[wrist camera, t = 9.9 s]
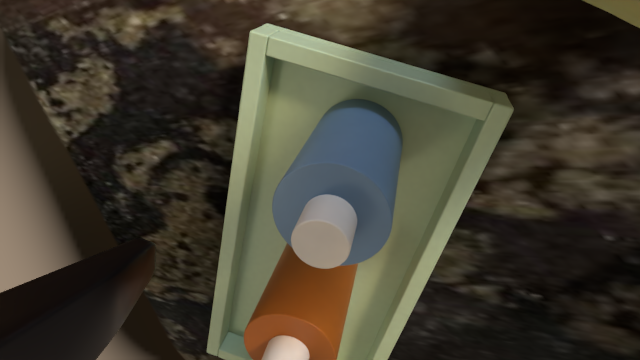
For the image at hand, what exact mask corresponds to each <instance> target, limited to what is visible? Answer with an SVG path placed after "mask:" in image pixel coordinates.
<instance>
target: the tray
mask: <svg viewBox="0 0 640 360" xmlns="http://www.w3.org/2000/svg"><path fill="white" fill-rule="evenodd" d="M351 99H365V100H369V101H372V102H375V103H377V104H379V105H381V106H383V107H384V108H386V109H387V110H388V111H389V112H390V113H391V114H392V115H393V116H394V117H395V119H396V120H397V122H398V124H399V126H400V129H401V132H402V138H403V145H402V153H401V161H400V168H399V176H398V184H397V191H396V199H395V207H394V215H393V222H392V229H391V233H390V236H389V238H388V240H387V242H386V243H385V245H384V246H383V248H382V249H381V250H380V251H379V252H378V253H376V254H375V255H374V256H372V257H371V258H369V259H367V260H365V261H363V262H360V263H358V267H357V271H356V276H355V280H354V285H353V289H352V294H351V298H350V303H349V307H348V312H347V316H346V321H345V325H344V330H343V334H342V339H341V343H340V348H339V352H338V357H337V360H388V358H389V356H390V354H391V352H392V350H393V348H394V346H395V344H396V342H397V340H398V338H399V336H400V334H401V332H402V330H403V328H404V326H405V324H406V322H407V320H408V318H409V316H410V314H411V312H412V310H413V308H414V306H415V304H416V302H417V300H418V298H419V296H420V294H421V292H422V290H423V289H424V287H425V285H426V283H427V281H428V279H429V277H430V275H431V273H432V271H433V269H434V267H435V265H436V263H437V261H438V259H439V257H440V255H441V253H442V251H443V249H444V247H445V245H446V243H447V241H448V239H449V237H450V235H451V233H452V231H453V229H454V227H455V225H456V223H457V221H458V219H459V217H460V216H461V214H462V212H463V210H464V208H465V206H466V204H467V202H468V200H469V198H470V196H471V194H472V192H473V190H474V188H475V186H476V184H477V182H478V180H479V178H480V176H481V174H482V172H483V170H484V168H485V166H486V164H487V162H488V160H489V158H490V156H491V154H492V152H493V150H494V148H495V146H496V144H497V143H498V141H499V139H500V137H501V135H502V133H503V131H504V129H505V127H506V125H507V123H508V121H509V119H510V117H511V115H512V113H513V111H514V108H513V106H512V104H511V103H510V101H509V99H508V97H507V95H506V93H504V92H500V91H497V90H494V89H490V88H487V87H483V86H480V85H476V84H473V83H470V82H466V81H463V80H459V79H456V78H453V77H449V76H446V75H442V74H439V73H435V72H432V71H429V70H425V69H422V68H418V67H415V66H412V65H408V64H405V63H401V62H398V61H395V60H391V59H388V58H384V57H381V56H377V55H374V54H371V53H367V52H364V51H360V50H357V49H354V48H350V47H347V46H343V45H340V44H336V43H333V42H330V41H326V40H323V39H319V38H316V37H313V36H309V35H306V34H302V33H299V32H295V31H292V30H289V29H285V28H282V27H278V26H275V25H272V24H268V23H267V24H264V25H263V26H261V27H258V28H256V29H254V30H251V31H250V34H249V41H248V49H247V56H246V63H245V71H244V78H243V86H242V93H241V100H240V108H239V115H238V123H237V130H236V137H235V145H234V152H233V160H232V167H231V174H230V182H229V189H228V197H227V204H226V212H225V219H224V226H223V234H222V241H221V249H220V256H219V263H218V271H217V278H216V286H215V293H214V300H213V308H212V315H211V323H210V330H209V337H208V345H207V353H209V354H212V355H215V356H218V357H220V358H222V359H225V360H253V359H252V358H251V357H250V355H249V354H248V352H247V350H246V348H245V344H244V332H245V329H246V327H247V324H248V322H249V320H250V318H251V316H252V314H253V312H254V310H255V308H256V306H257V304H258V302H259V300H260V298H261V296H262V294H263V292H264V290H265V288H266V285H267V283H268V281H269V279H270V277H271V275H272V273H273V271H274V269H275V267H276V265H277V263H278V261H279V259H280V257H281V255H282V253H283V251H284V249H285V246H286V244H287V242H286V241H285V240H284V238H283V237H282V236H281V234H280V232H279V231H278V229H277V227H276V225H275V221H274V218H273V213H272V201H273V196H274V192H275V190H276V188H277V186H278V184H279V183H280V181H281V180H282V178H283V177H284V175H285V173H286V172H287V170H288V169H289V167H290V166H291V164H292V163H293V161H294V160H295V158H296V157H297V155H298V153H299V152H300V150H301V149H302V147H303V146H304V144H305V143H306V141H307V140H308V138H309V137H310V135H311V133H312V132H313V130H314V129H315V127H316V126H317V124H318V123H319V121H320V120H321V118H322V117H323V115H324V114H325V113H326V112H327V111H328V110H329V109H330V108H331V107H333V106H334V105H336V104H338V103H340V102H342V101H346V100H351Z"/></svg>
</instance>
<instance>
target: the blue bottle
mask: <svg viewBox="0 0 640 360" xmlns="http://www.w3.org/2000/svg"><path fill="white" fill-rule="evenodd" d="M402 145H403V138H402V132H401V129H400V126H399V124H398V122H397V120H396V119H395V117H394V116H393V115H392V114H391V113H390V112H389V111H388V110H387V109H386V108H384V107H383V106H381V105H379V104H377V103H375V102H372V101H369V100H365V99H351V100H346V101H342V102H340V103H338V104H336V105H334V106H333V107H331V108H330V109H329V110H328V111H327V112H326V113H325V114H324V115H323V117H322V118H321V120H320V121H319V123H318V124H317V126H316V127H315V129H314V130H313V132H312V133H311V135H310V137H309V138H308V140H307V141H306V143H305V144H304V146H303V147H302V149H301V150H300V152H299V153H298V155H297V157H296V158H295V160H294V161H293V163H292V164H291V166H290V167H289V169H288V170H287V172H286V173H285V175H284V177H283V178H282V180H281V181H280V183H279V184H278V186H277V188H276V190H275V192H274V196H273V201H272V213H273V218H274V221H275V225H276V227H277V229H278V231H279V232H280V234H281V236H282V237H283V238H284V240H285V241H286V242H287V243H288V244H289V245H290V246H291V247H292V248H293V250H294V252H295V253H296V255H297V256H298V257H299V258H300V259H301V260H302V261H303V262H305V263H306V264H308V265H310V266H313V267H316V268H321V269H330V268H334V267H337V266H346V265H353V264H357V263H360V262H363V261H365V260H367V259H369V258H371V257H372V256H374V255H375V254H376V253H378V252H379V251H380V250H381V249H382V248H383V246H384V245H385V243H386V242H387V240H388V238H389V236H390V233H391V229H392V222H393V215H394V207H395V199H396V191H397V184H398V176H399V168H400V161H401V153H402Z"/></svg>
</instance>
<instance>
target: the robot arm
mask: <svg viewBox="0 0 640 360" xmlns="http://www.w3.org/2000/svg"><path fill="white" fill-rule="evenodd" d="M155 261H156V246H155V244H154V243H153V242H151V241H148V240H145V239H142V238H136V239H133V240H131V241H128V242H126V243H123V244H121V245H118V246H116V247H113V248H111V249H109V250H106V251H104V252H101V253H99V254H96V255H94V256H91V257H89V258H86V259H84V260H81V261H79V262H77V263H74V264H71V265H69V266H66V267H64V268H61V269H59V270H56V271H54V272H51V273H49V274H46V275H44V276H41V277H39V278H36V279H34V280H31V281H29V282H26V283H24V284H22V285H19V286H16V287H14V288H12V289H9V290H6V291H4V292H1V293H0V360H96V359H97V358H98V356H99V355H100V354H101V352H102V351H103V350H104V348H105V347H106V346H107V345H108V344H109V342H110V341H111V340H112V338H113V337H114V336H115V334H116V333H117V332H118V330H119V329H120V327H121V326H122V324H123V322H124V321H125V319H126V318H127V316H128V315H129V313H130V311H131V310H132V308H133V307H134V305H135V303H136V302H137V300H138V299H139V297H140V295H141V294H142V292H143V291H144V289H145V287H146V286H147V284H148V283H149V281H150V279H151V278H152V276H153V274H154V271H155Z"/></svg>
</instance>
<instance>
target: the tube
mask: <svg viewBox="0 0 640 360" xmlns="http://www.w3.org/2000/svg"><path fill="white" fill-rule="evenodd" d="M582 1H584V2H587V3H589V4H591V5H593V6H596V7H598V8H600V9H602V10H604V11H607V12H609V13H611V14H613V15H615V16H617V17H618V18H620V19H622V20H624V21H626V22H628V23H630V24H632V25H634V26H636V27H638V28H640V0H582Z"/></svg>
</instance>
